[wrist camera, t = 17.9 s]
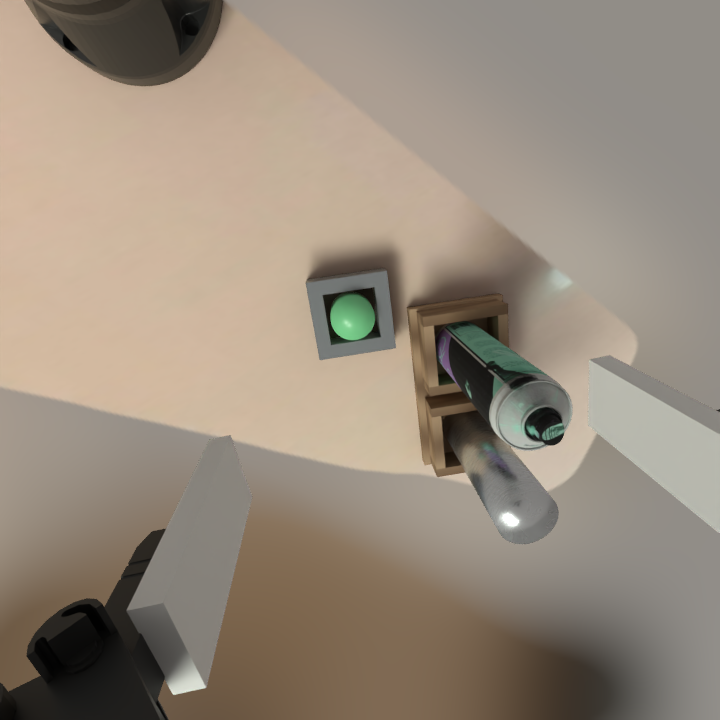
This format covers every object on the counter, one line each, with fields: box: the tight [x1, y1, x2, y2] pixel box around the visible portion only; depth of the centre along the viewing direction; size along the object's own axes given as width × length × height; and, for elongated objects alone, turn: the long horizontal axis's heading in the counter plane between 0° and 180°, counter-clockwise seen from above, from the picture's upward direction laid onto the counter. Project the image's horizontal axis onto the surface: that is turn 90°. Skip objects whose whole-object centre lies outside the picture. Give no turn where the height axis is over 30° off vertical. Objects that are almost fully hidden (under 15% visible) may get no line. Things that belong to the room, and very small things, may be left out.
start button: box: [330, 291, 375, 340], centre depth 42 cm, size 4×4×3 cm
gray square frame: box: [306, 268, 396, 360], centre depth 43 cm, size 8×8×2 cm
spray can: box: [435, 321, 572, 451], centre depth 35 cm, size 6×6×20 cm
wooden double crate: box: [407, 294, 511, 477], centre depth 45 cm, size 19×10×4 cm, turn 8°
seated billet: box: [443, 410, 558, 544], centre depth 40 cm, size 5×5×16 cm
